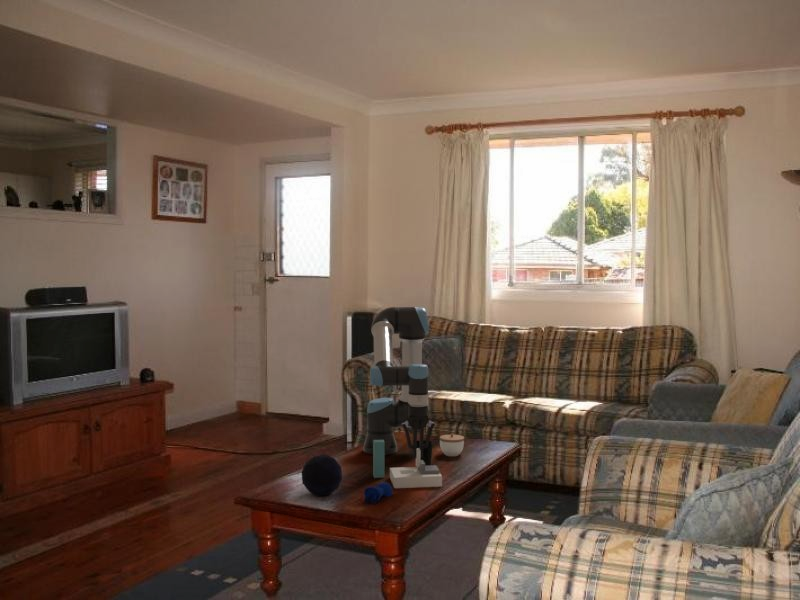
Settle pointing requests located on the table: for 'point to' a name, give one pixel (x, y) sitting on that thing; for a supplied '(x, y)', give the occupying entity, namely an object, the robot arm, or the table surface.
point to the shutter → (428, 468)
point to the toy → (377, 492)
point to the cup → (426, 453)
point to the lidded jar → (451, 444)
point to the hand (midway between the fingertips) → (418, 466)
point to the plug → (378, 458)
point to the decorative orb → (321, 475)
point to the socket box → (413, 478)
